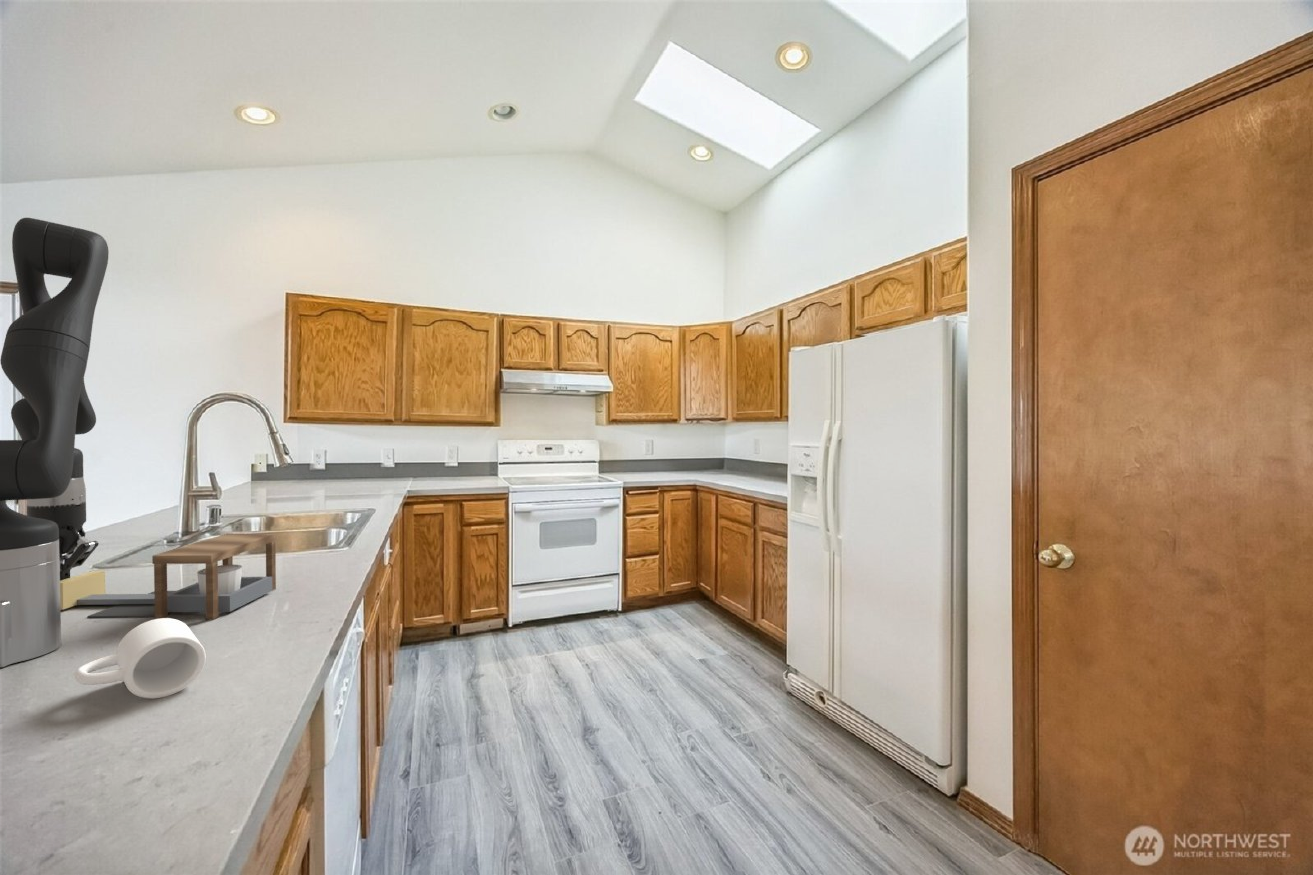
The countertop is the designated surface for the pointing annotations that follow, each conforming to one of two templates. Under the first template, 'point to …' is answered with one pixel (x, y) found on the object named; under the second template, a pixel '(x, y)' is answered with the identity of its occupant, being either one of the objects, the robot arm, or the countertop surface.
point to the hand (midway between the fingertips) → (59, 590)
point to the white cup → (223, 579)
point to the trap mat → (127, 610)
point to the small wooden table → (210, 565)
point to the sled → (184, 600)
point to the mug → (151, 660)
